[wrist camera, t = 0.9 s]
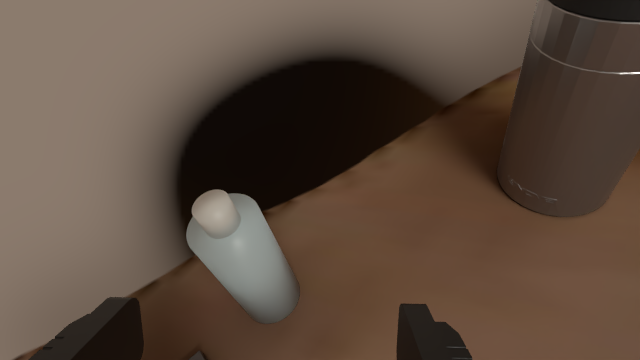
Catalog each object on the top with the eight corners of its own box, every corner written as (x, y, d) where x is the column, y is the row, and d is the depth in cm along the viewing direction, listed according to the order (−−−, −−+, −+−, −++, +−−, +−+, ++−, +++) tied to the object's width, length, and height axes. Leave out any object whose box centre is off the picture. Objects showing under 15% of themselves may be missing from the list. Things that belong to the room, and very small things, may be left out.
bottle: (278, 258, 34) (225, 162, 25) (311, 294, 31) (265, 201, 22) (234, 295, 32) (159, 207, 23) (264, 336, 29) (192, 256, 20)
